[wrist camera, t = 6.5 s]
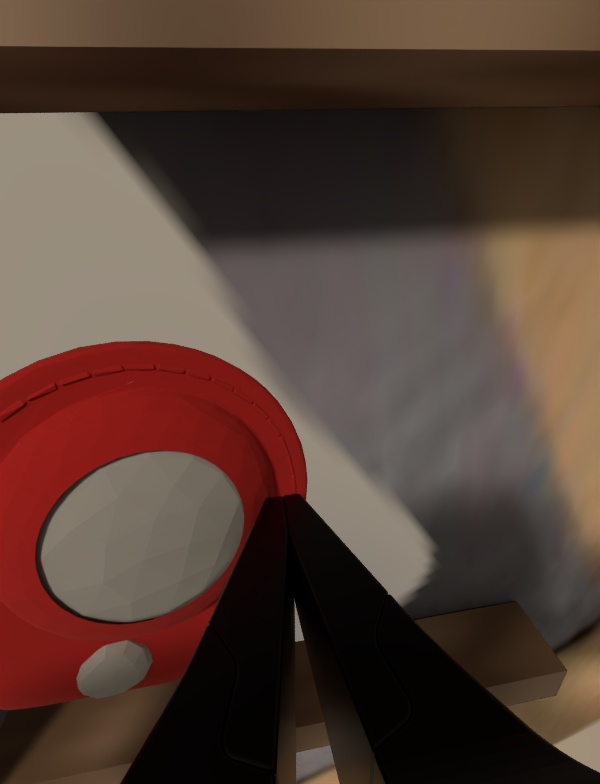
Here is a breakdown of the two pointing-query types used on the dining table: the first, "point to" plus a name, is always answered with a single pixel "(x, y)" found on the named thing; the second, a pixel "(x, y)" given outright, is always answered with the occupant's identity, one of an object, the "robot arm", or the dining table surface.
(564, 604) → the dining table surface
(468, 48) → the walnut channel
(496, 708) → the robot arm
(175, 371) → the tracker holder
